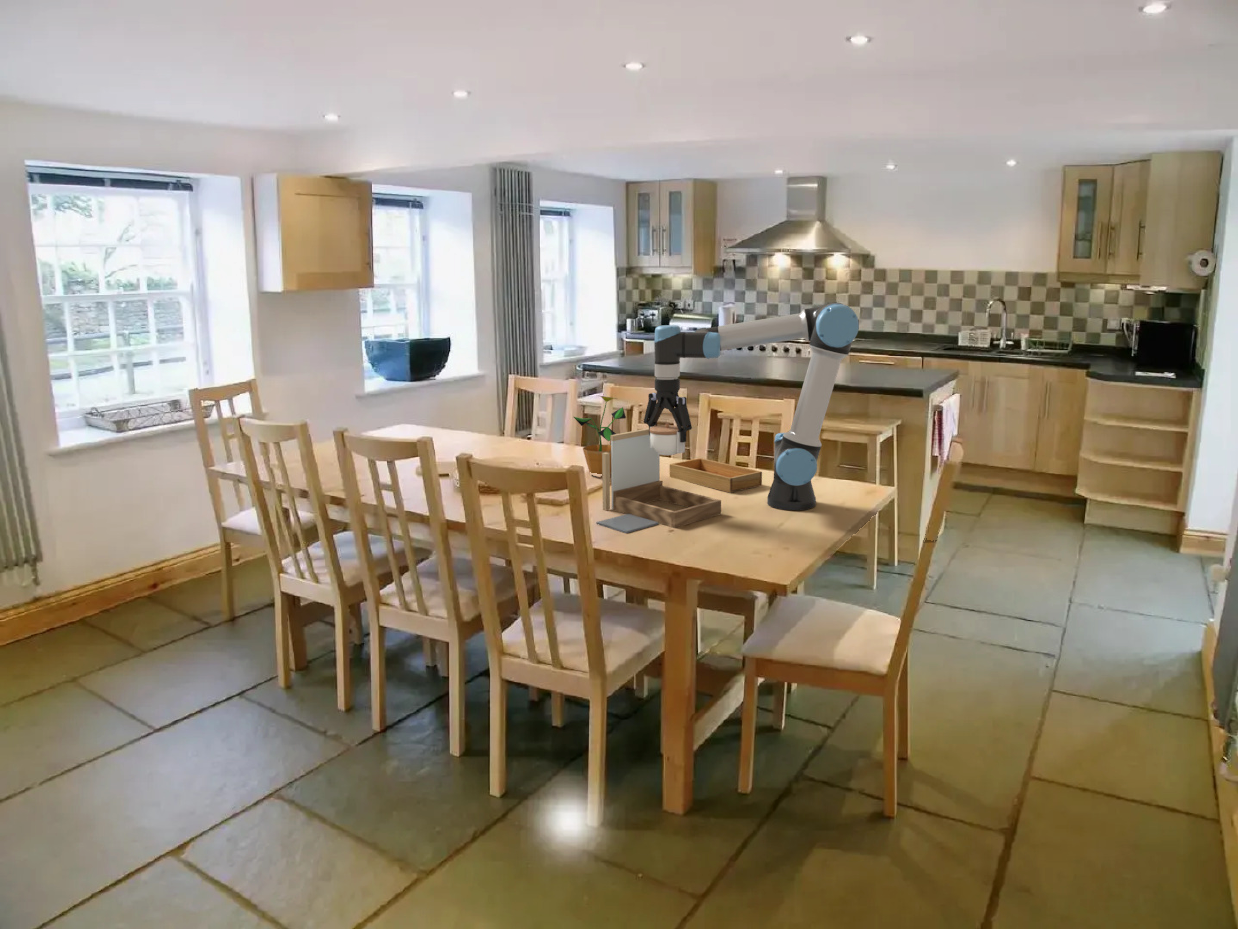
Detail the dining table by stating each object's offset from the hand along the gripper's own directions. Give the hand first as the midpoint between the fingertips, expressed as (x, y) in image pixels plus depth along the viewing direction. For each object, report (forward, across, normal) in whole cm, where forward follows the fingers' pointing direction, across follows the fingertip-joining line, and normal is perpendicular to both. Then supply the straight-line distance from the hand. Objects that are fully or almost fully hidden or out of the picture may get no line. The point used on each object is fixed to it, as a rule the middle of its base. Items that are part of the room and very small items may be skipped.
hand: (667, 449), depth 282 cm
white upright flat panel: (+20, +15, +1) cm, 25 cm away
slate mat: (+20, -1, +18) cm, 26 cm away
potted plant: (+20, +51, -18) cm, 58 cm away
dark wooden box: (+20, 0, 0) cm, 20 cm away
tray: (+20, +16, -40) cm, 48 cm away
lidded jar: (+1, 0, 0) cm, 1 cm away
